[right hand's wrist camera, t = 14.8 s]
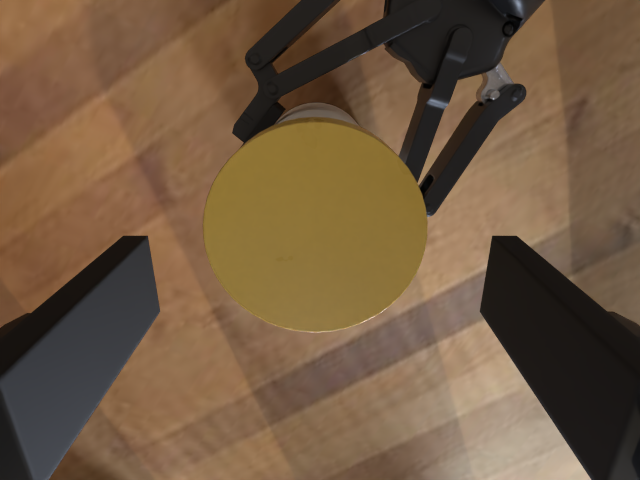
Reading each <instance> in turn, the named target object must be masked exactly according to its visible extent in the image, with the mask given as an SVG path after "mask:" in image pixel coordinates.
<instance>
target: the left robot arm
mask: <svg viewBox="0 0 640 480" xmlns="http://www.w3.org/2000/svg"><path fill="white" fill-rule="evenodd" d="M339 1H340V0H301V1H300V2H299V3H298V4H297V5H296V6H295V7H294V8H293V9H292V10H291V11H290V12H288V13H287V14H286V15H285V16H284V17H283V18H282V19H281V20H280V21H279V22H278V23H277V24H276V25H275V26H274V27H273V28H272V29H271V30H270V31H268V32H267V33H266V34H265V35H264V36H263V37H262V38H261V39H260V40H259V41H258V42H257V43H256V44H255V45H254V46H253V47H252V48H251V49H250V50H249V51H248V52H247V53H246V56H245V61H246V64H247V66H248V67H249V68H250V69H251V71H252V73H253V74H254V76H255V78H256V79H257V81H258V85H259V89H258V93H257V94H256V96H255V97H254V99H253V100H252V101H251V103H250V104H249V105H248V107H247V108H246V110H245V111H244V112H243V114H242V115H241V116H240V118H239V119H238V120H237V122H236V123H235V125H234V128H233V132H232V133H233V134H234V135H235V136H236V137H238V138H239V139H240V140H241V141H243V142H244V143H243V145H244V144H245V143H246V142H247V141H248V140H250V139H251V138H253V137H254V136H255V135H257V134H258V133H260V132H261V131H263V130H265V129H267V128H269V127H271V126H273V125H274V124H275V123H276V121H277V120H278V119H279V117H280V116H281V115H282V113H283V112H284V111H285V110H286V109H285V108H284V107H283V106H282V105H280V104H279V103H278V102H277V101H278V100H279V99H280V98H281V96H283V95H285V94H287V93H289V92H291V91H293V90H295V89H297V88H299V87H300V86H302V85H304V84H306V83H308V82H310V81H312V80H314V79H316V78H318V77H320V76H322V75H324V74H326V73H327V72H329V71H331V70H333V69H335V68H337V67H339V66H341V65H343V64H345V63H347V62H349V61H351V60H353V59H354V58H356V57H358V56H360V55H362V54H364V53H366V52H368V51H370V50H372V49H374V48H376V47H378V46H380V45H382V44H383V43H384V45H385V47H386V48H385V50H386V51H387V52H388V53H389V54H390V55H392V56H393V57H394V58H396V59H398V60H400V61H402V62H404V63H405V65H406V66H407V68H408V70H409V72H410V73H411V75H412V76H413V77H415V78H416V79H417V80H418V81H419V82H422V84H421V87H420V90H419V93H418V98H417V104H416V107H415V110H414V113H413V116H412V119H411V122H410V125H409V128H408V131H407V134H406V136H405V139H404V142H403V145H402V148H401V151H400V154H399V157H400V159H401V160H402V161H403V162H404V163H405V165H406V166H407V167H408V168H409V170H410V172H411V173H412V175H413V176H414V178H415V180H416V181H417V183H418V180H419V177H420V175H421V172H422V169H423V166H424V164H425V161H426V158H427V155H428V153H429V150H430V147H431V144H432V142H433V139H434V136H435V133H436V131H437V128H438V125H439V122H440V120H441V117H442V114H443V111H444V109H445V108H446V106H447V105H448V104H449V102H450V99H451V97H452V94H453V91H454V88H455V86H456V83H457V80H460V79H464V78H468V77H471V76H475V75H479V74H482V77H483V81H482V84H481V86H480V87H479V89H478V90H477V92H476V98H477V101H476V102H475V103H474V104H473V106H472V107H471V108H470V109H469V110H468V112H467V113H466V115H465V116H464V118H463V119H462V121H461V122H460V124H459V125H458V127H457V128H456V130H455V131H454V133H453V134H452V136H451V137H450V139H449V141H448V142H447V144H446V145H445V147H444V148H443V150H442V151H441V153H440V154H439V156H438V157H437V159H436V160H435V162H434V164H433V165H432V167H431V168H430V170H429V171H428V173H427V174H426V176H425V177H424V179H423V180H422V182H421V183H420V185H419V188H420V191H421V193H422V196H423V200H424V203H425V207H426V214H427V217H430V216H432V215H434V214H435V213H436V211H437V210H438V208H439V207H440V205H441V204H442V202H443V201H444V199H445V198H446V196H447V195H448V194H449V192H450V191H451V189H452V188H453V186H454V185H455V183H456V182H457V180H458V179H459V177H460V176H461V175H462V173H463V172H464V170H465V169H466V167H467V166H468V164H469V163H470V161H471V160H472V158H473V157H474V155H475V154H476V153H477V151H478V150H479V148H480V147H481V145H482V144H483V142H484V141H485V139H486V138H487V136H488V135H489V134H490V132H491V131H492V129H493V128H494V126H495V125H496V123H497V122H498V120H500V119H501V118H502V117H504V116H505V115H506V114H507V113H509V112H510V111H511V110H512V109H514V108H515V107H516V106H517V105H519V104H520V103H521V102H522V101H523V100H524V99H525V96H526V89H525V87H524V86H523V85H521V84H514V83H513V81H512V80H511V78H510V77H509V75H508V74H507V72H506V71H505V69H504V68H503V66H502V65H501V63H500V61H501V59H502V57H503V54H504V50H505V48H506V46H507V43H508V42H509V40H510V39H511V37H512V36H513V35H514V34H515V33H516V32H517V31H518V30H519V29H520V28H521V27H522V25H523V24H524V23H525V22H526V21H527V20H528V19H529V18H530V17H531V15H532V14H533V13H534V12H535V11H536V10H537V9H538V8H539V7H540V5H541V4H542V3H543V2H544V1H545V0H385V6H384V15H383V19H381V20H379V21H377V22H375V23H373V24H371V25H369V26H368V27H366V28H364V29H362V30H361V31H359V32H357V33H355V34H353V35H351V36H349V37H347V38H346V39H344V40H342V41H340V42H338V43H336V44H334V45H332V46H330V47H329V48H327V49H325V50H323V51H321V52H319V53H317V54H315V55H313V56H312V57H310V58H308V59H306V60H304V61H302V62H300V63H298V64H296V65H294V66H293V67H291V68H289V69H287V70H285V71H283V72H281V73H279V74H278V73H277V71H276V69H275V68H274V66H273V64H272V63H273V62H274V61H275V60H276V59H277V58H278V57H279V56H281V55H282V54H283V53H284V52H285V51H286V50H287V49H288V48H289V47H290V46H291V45H292V44H294V43H295V42H296V41H297V40H298V39H299V38H300V37H301V36H302V35H303V34H304V33H305V32H306V31H308V30H309V29H310V28H311V27H312V26H313V25H314V24H315V23H316V22H317V21H318V20H319V19H321V18H322V17H323V16H324V15H325V14H326V13H327V12H328V11H329V10H330V9H331V8H332V7H333V6H335V5H336V4H337V3H338V2H339ZM243 145H242V146H243ZM242 146H241V147H242ZM241 147H240V148H241Z"/></svg>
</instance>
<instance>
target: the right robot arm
mask: <svg viewBox="0 0 640 480" xmlns="http://www.w3.org/2000/svg"><path fill="white" fill-rule="evenodd" d="M159 313H160V308H159V301H158V295H157V289H156V283H155V277H154V271H153V265H152V259H151V253H150V247H149V241H148V236H123V237H121V238H120V239H119V240H118V241H117V242H115V243H114V244H113V245H112V246H111V247H109V248H108V249H107V250H106V251H105V252H103V253H102V254H101V255H100V256H99V257H98V258H96V259H95V260H94V261H93V262H92V263H90V264H89V265H88V266H87V267H86V268H84V269H83V270H82V271H81V272H80V273H78V274H77V275H76V276H75V277H74V278H72V279H71V280H70V281H69V282H68V283H67V284H65V285H64V286H63V287H62V288H61V289H59V290H58V291H57V292H56V293H55V294H53V295H52V296H51V297H50V298H49V299H47V300H46V301H45V302H44V303H43V304H41V305H40V306H39V307H38V308H37V309H35V310H34V311H33V312H32V313H27V314H25V315H23V316H21V317H19V318H17V319H15V320H13V321H11V322H9V323H7V324H5V325H3V326H2V327H1V328H0V480H49V478H50V477H51V475H52V474H53V472H54V471H55V469H56V468H57V466H58V465H59V463H60V462H61V460H62V459H63V457H64V456H65V454H66V453H67V451H68V450H69V448H70V447H71V445H72V444H73V442H74V441H75V439H76V437H77V436H78V434H79V433H80V431H81V430H82V428H83V427H84V425H85V424H86V422H87V421H88V419H89V418H90V416H91V415H92V413H93V412H94V410H95V409H96V407H97V406H98V404H99V403H100V401H101V400H102V398H103V397H104V395H105V394H106V392H107V391H108V389H109V388H110V386H111V385H112V383H113V382H114V380H115V379H116V377H117V376H118V374H119V373H120V371H121V370H122V368H123V367H124V365H125V364H126V362H127V361H128V359H129V358H130V356H131V355H132V353H133V352H134V350H135V349H136V347H137V346H138V344H139V343H140V341H141V340H142V338H143V337H144V335H145V334H146V332H147V331H148V329H149V328H150V326H151V325H152V323H153V322H154V320H155V319H156V317H157V316H158V314H159ZM480 313H481V314H482V316H483V317H484V319H485V320H486V322H487V323H488V325H489V326H490V328H491V329H492V331H493V332H494V334H495V335H496V337H497V338H498V340H499V341H500V343H501V344H502V346H503V347H504V349H505V350H506V352H507V353H508V355H509V356H510V358H511V359H512V361H513V362H514V364H515V365H516V367H517V368H518V370H519V371H520V373H521V374H522V376H523V377H524V379H525V380H526V382H527V383H528V385H529V386H530V388H531V389H532V391H533V392H534V394H535V395H536V397H537V398H538V400H539V401H540V403H541V404H542V406H543V407H544V409H545V410H546V412H547V413H548V415H549V416H550V418H551V419H552V421H553V422H554V424H555V425H556V427H557V428H558V430H559V431H560V433H561V434H562V436H563V437H564V439H565V441H566V442H567V444H568V445H569V447H570V448H571V450H572V451H573V453H574V454H575V456H576V457H577V459H578V460H579V462H580V463H581V465H582V466H583V468H584V469H585V471H586V472H587V474H588V475H589V477H590V478H591V480H640V326H639V325H638V324H636V323H635V322H633V321H631V320H629V319H627V318H625V317H623V316H621V315H619V314H617V313H615V312H607V311H606V310H605V309H603V308H602V307H601V306H600V305H599V304H597V303H596V302H595V301H594V300H593V299H591V298H590V297H589V296H588V295H587V294H585V293H584V292H583V291H582V290H581V289H579V288H578V287H577V286H576V285H575V284H573V283H572V282H571V281H570V280H569V279H568V278H566V277H565V276H564V275H563V274H562V273H560V272H559V271H558V270H557V269H556V268H554V267H553V266H552V265H551V264H550V263H548V262H547V261H546V260H545V259H544V258H542V257H541V256H540V255H539V254H538V253H537V252H535V251H534V250H533V249H532V248H531V247H529V246H528V245H527V244H526V243H525V242H523V241H522V240H521V239H520V238H519V237H517V236H492V241H491V247H490V253H489V259H488V265H487V271H486V277H485V283H484V289H483V295H482V301H481V308H480Z"/></svg>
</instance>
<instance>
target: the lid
mask: <svg viewBox="0 0 640 480" xmlns="http://www.w3.org/2000/svg"><path fill="white" fill-rule="evenodd" d="M203 238H204V244H205V249H206V253H207V256H208V259H209V262H210V265H211V267H212V269H213V271H214V273H215V275H216V277H217V279H218V280H219V282H220V283H221V285H222V286H223V288H224V289H225V290H226V291H227V292H228V294H229V295H230V296H231V297H232V298H233V299H234V300H235V301H236V302H237V303H238V304H240V305H241V306H242V307H243V308H244V309H246V310H247V311H249V312H250V313H251V314H253V315H255V316H256V317H258V318H260V319H262V320H264V321H266V322H268V323H271V324H273V325H276V326H279V327H282V328H286V329H290V330H296V331H302V332H329V331H335V330H341V329H345V328H348V327H352V326H355V325H358V324H360V323H362V322H365V321H367V320H369V319H371V318H372V317H374V316H376V315H378V314H379V313H381V312H382V311H384V310H385V309H386V308H388V307H389V306H390V305H391V304H392V303H393V302H394V301H396V300H397V299H398V298H399V297H400V296H401V294H402V293H403V292H404V291H405V289H406V288H407V287H408V286H409V284H410V283H411V281H412V279H413V278H414V276H415V275H416V272H417V270H418V268H419V266H420V264H421V261H422V258H423V254H424V251H425V247H426V240H427V214H426V207H425V203H424V200H423V196H422V193H421V191H420V188H419V186H418V184H417V181H416V180H415V178H414V176H413V175H412V173H411V172H410V170H409V168H408V167H407V166H406V165H405V163H404V162H403V161H402V160H401V159H400V157H399V156H398V155H397V154H396V153H395V152H394V151H393V150H392V149H391V148H390V147H389V146H387V145H386V144H385V143H384V142H383V141H382V140H381V139H380V138H378V137H377V136H375V135H374V134H372V133H371V132H369V131H367V130H365V129H363V128H361V127H359V126H357V125H355V124H352V123H349V122H346V121H343V120H338V119H333V118H327V117H305V118H297V119H292V120H288V121H284V122H281V123H279V124H276V125H273V126H271V127H269V128H267V129H265V130H263V131H261V132H260V133H258V134H257V135H255V136H254V137H253V138H251V139H250V140H248V141H247V142H246V143H245V144H244V145H243V146H242V147H241V148H240V149H239V150H238V151H237V152H236V153H235V154H234V155H233V156H232V157H231V158H230V159H229V160H228V161H227V162H226V164H225V165H224V166H223V167H222V169H221V170H220V172H219V173H218V175H217V177H216V179H215V180H214V182H213V184H212V186H211V189H210V192H209V194H208V197H207V201H206V205H205V209H204V217H203Z"/></svg>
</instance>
